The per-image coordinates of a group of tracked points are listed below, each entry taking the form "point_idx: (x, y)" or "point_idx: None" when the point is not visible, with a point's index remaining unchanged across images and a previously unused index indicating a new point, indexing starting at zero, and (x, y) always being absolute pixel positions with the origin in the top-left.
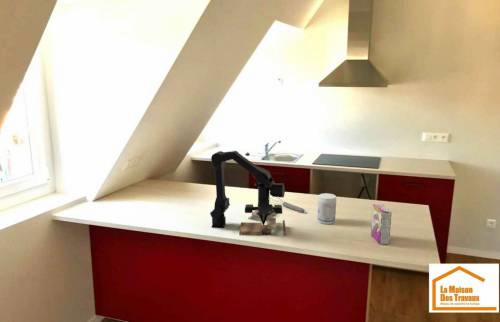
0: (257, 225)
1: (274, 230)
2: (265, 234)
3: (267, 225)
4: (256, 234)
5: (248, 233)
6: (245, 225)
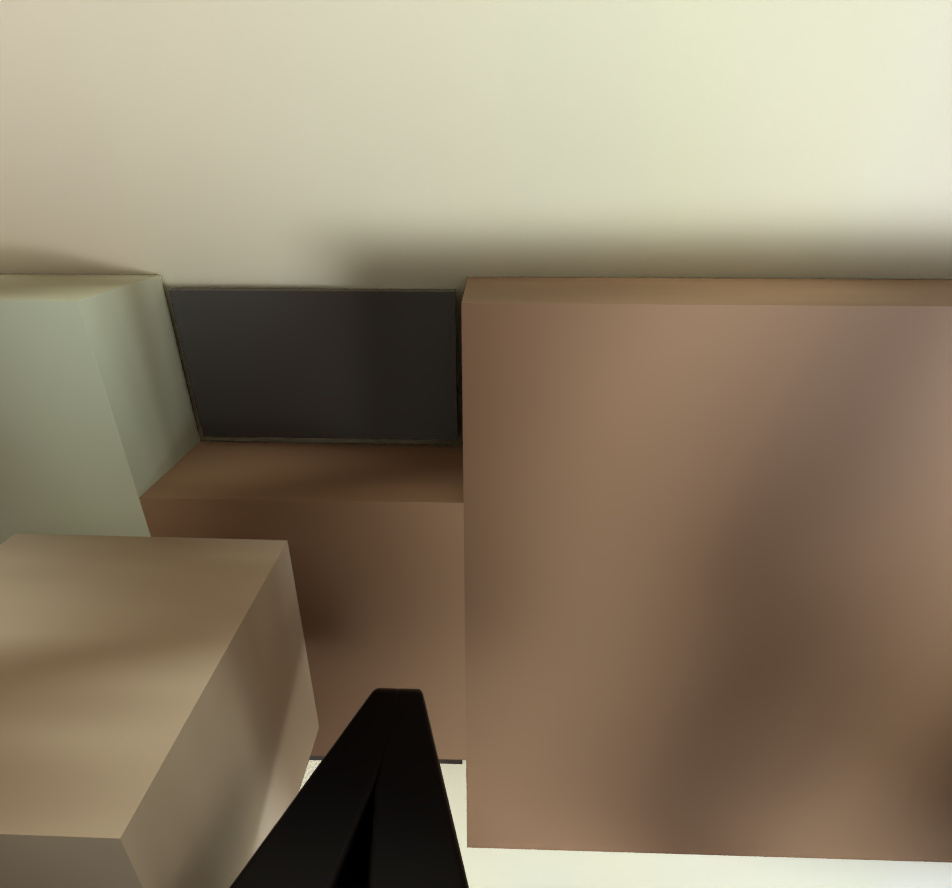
0: (579, 727)
1: (11, 421)
2: (343, 329)
3: (224, 620)
4: (625, 285)
5: (912, 293)
6: (918, 726)
